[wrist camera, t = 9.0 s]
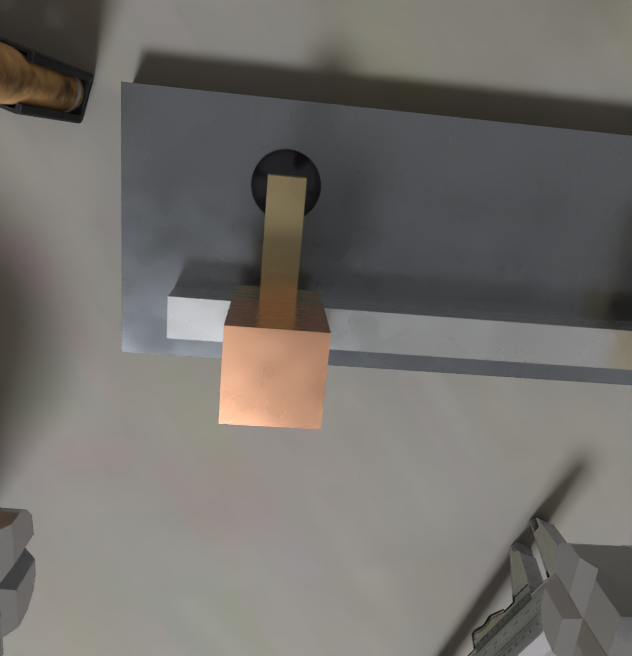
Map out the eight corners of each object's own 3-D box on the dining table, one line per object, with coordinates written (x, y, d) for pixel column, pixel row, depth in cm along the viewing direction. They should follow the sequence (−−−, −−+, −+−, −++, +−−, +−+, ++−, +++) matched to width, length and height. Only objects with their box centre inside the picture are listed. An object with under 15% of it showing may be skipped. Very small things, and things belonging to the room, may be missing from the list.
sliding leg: (327, 176, 21) (346, 187, 15) (309, 356, 23) (320, 429, 17) (244, 168, 21) (231, 176, 15) (233, 351, 23) (218, 423, 17)
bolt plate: (775, 153, 24) (898, 155, 19) (705, 378, 27) (797, 428, 22) (131, 86, 22) (90, 68, 17) (130, 339, 25) (95, 386, 20)
